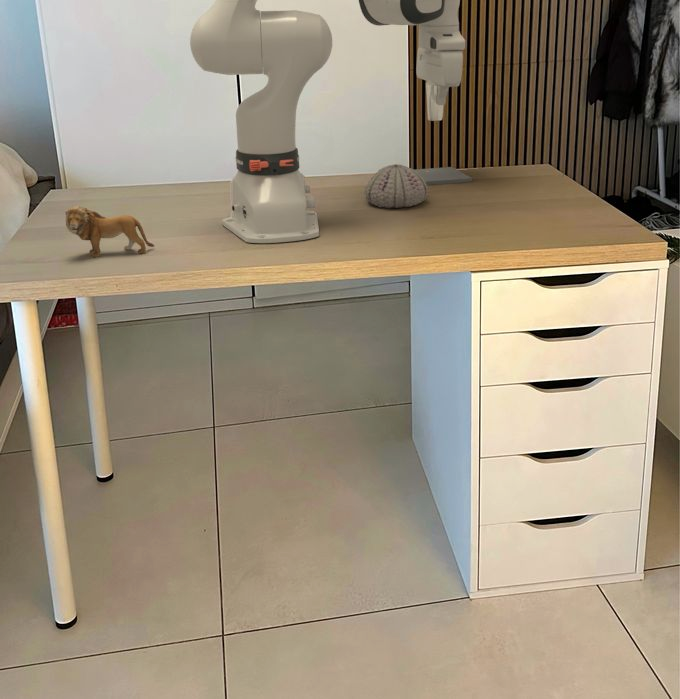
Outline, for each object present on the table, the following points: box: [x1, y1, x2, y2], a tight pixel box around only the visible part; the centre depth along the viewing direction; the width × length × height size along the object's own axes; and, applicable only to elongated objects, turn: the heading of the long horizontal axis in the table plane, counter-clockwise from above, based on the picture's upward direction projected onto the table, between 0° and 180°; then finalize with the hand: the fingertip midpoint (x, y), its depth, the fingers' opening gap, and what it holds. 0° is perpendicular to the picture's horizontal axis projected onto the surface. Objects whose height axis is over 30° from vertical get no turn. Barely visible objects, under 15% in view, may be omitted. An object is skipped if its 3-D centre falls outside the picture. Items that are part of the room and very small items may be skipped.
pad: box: [413, 166, 473, 186], centre depth 213 cm, size 13×13×1 cm
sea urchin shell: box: [364, 163, 429, 209], centre depth 191 cm, size 13×14×8 cm
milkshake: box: [425, 80, 445, 122], centre depth 206 cm, size 4×5×10 cm
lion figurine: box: [64, 205, 155, 258], centre depth 160 cm, size 15×5×9 cm, turn 109°
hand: (436, 103), depth 207 cm, fingers closed on milkshake, 4 cm apart
